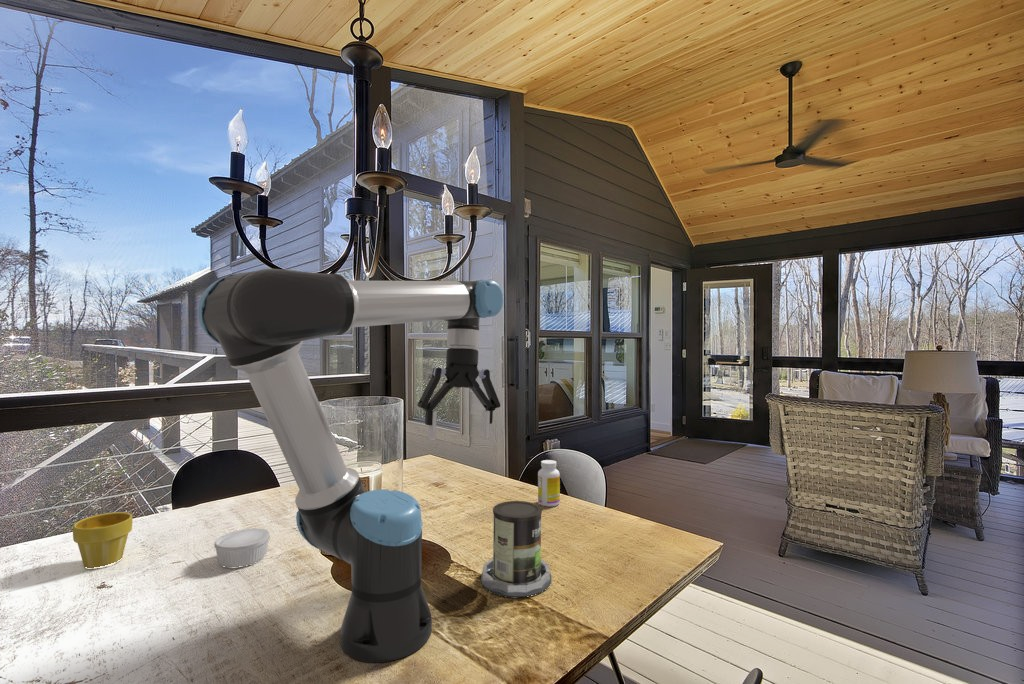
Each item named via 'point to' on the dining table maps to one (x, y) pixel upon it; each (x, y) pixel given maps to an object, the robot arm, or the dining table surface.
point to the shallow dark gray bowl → (515, 588)
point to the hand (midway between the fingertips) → (459, 438)
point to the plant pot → (102, 538)
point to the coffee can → (517, 542)
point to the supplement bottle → (548, 484)
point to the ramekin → (242, 547)
